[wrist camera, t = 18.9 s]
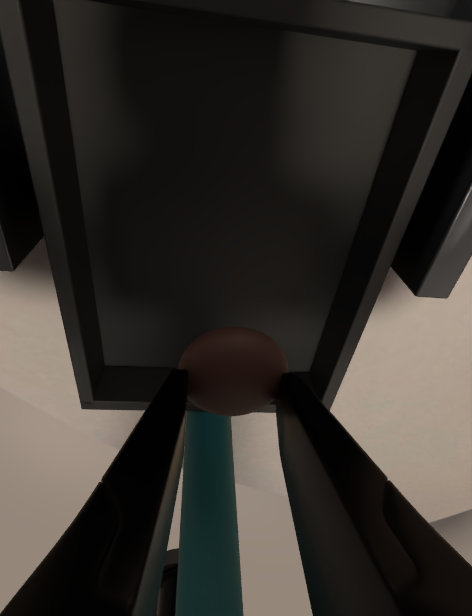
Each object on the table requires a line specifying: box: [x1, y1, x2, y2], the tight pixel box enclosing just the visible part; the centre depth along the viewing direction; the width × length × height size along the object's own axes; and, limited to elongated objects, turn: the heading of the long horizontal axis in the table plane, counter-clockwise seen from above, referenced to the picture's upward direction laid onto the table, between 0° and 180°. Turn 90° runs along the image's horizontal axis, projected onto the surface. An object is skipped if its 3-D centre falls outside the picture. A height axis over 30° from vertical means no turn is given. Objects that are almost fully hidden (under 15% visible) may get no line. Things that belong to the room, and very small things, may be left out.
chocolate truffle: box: [178, 327, 288, 416], centre depth 10 cm, size 3×3×2 cm
